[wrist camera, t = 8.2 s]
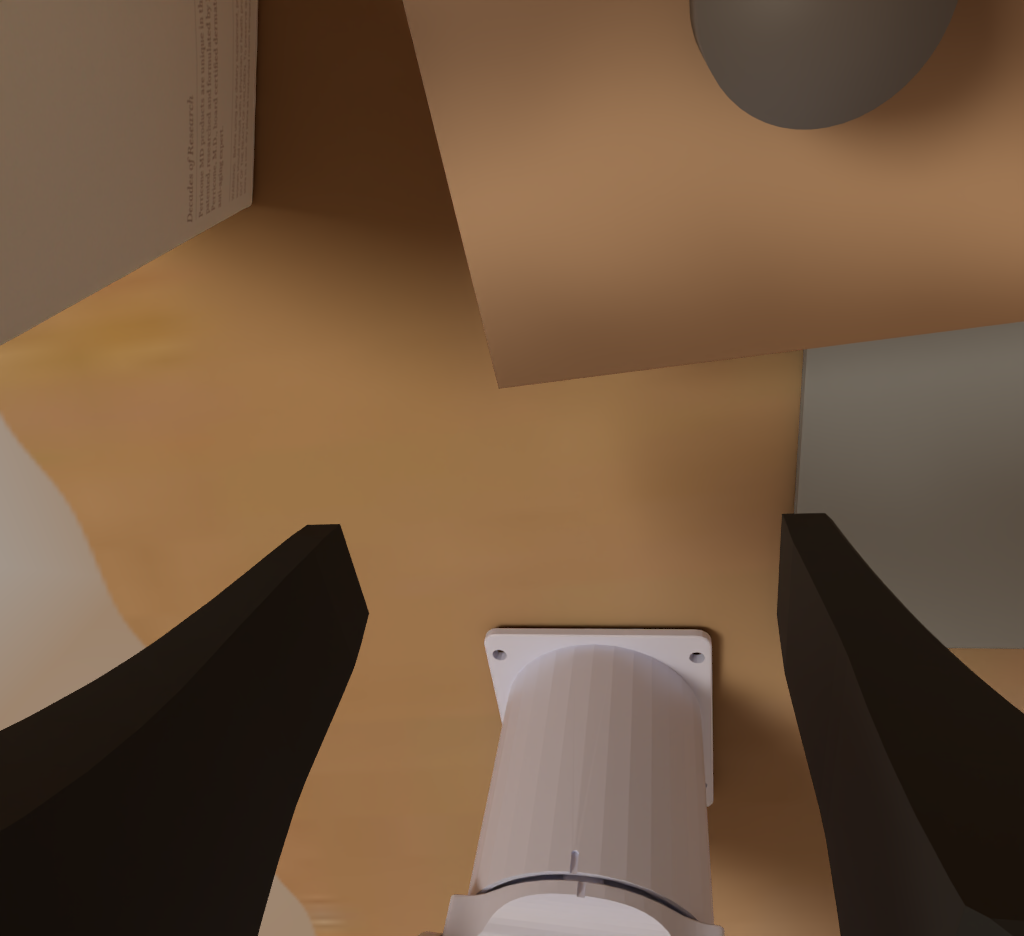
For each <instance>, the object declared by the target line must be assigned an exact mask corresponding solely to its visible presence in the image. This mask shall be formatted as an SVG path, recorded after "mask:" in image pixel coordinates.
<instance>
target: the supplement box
mask: <svg viewBox="0 0 1024 936" xmlns="http://www.w3.org/2000/svg"><path fill="white" fill-rule="evenodd" d="M257 28H258V0H0V345H2V344H4V343H6V342H8V341H9V340H11V339H13V338H15V337H17V336H19V335H21V334H22V333H24V332H26V331H28V330H29V329H31V328H33V327H35V326H36V325H38V324H40V323H42V322H43V321H45V320H47V319H49V318H51V317H52V316H54V315H56V314H58V313H59V312H61V311H63V310H65V309H67V308H68V307H70V306H72V305H74V304H76V303H77V302H79V301H81V300H83V299H85V298H86V297H88V296H90V295H92V294H94V293H95V292H97V291H99V290H101V289H103V288H104V287H106V286H108V285H110V284H111V283H113V282H115V281H117V280H119V279H121V278H122V277H124V276H126V275H128V274H129V273H131V272H133V271H135V270H136V269H138V268H140V267H141V266H143V265H145V264H147V263H149V262H150V261H152V260H154V259H156V258H157V257H159V256H161V255H163V254H164V253H166V252H168V251H170V250H172V249H173V248H175V247H177V246H179V245H180V244H182V243H184V242H186V241H188V240H189V239H191V238H193V237H195V236H197V235H198V234H200V233H202V232H204V231H206V230H208V229H209V228H211V227H213V226H214V225H216V224H218V223H220V222H222V221H223V220H225V219H227V218H229V217H231V216H232V215H234V214H236V213H238V212H239V211H241V210H243V209H245V208H247V207H250V205H251V204H252V194H253V168H254V131H255V105H256V63H257Z"/></svg>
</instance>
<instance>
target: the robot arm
mask: <svg viewBox="0 0 1024 936" xmlns="http://www.w3.org/2000/svg"><path fill="white" fill-rule="evenodd" d="M368 615H369V612H368V609H367V605H366V602H365V599H364V596H363V593H362V590H361V587H360V584H359V581H358V578H357V575H356V572H355V569H354V566H353V563H352V560H351V557H350V554H349V550H348V547H347V544H346V541H345V538H344V535H343V532H342V529H341V526H340V524H327V525H307V526H305V527H304V528H302V529H301V530H299V531H298V532H296V533H295V534H294V535H292V536H291V537H290V538H289V539H287V540H286V541H285V542H283V543H282V544H281V545H280V546H278V547H277V548H276V549H275V550H273V551H272V552H271V553H270V554H268V555H267V556H266V557H265V558H263V559H262V560H261V561H260V562H258V563H257V564H256V565H255V566H254V567H252V568H251V569H250V570H249V571H247V572H246V573H245V574H244V575H242V576H241V577H240V578H239V579H237V580H236V581H235V582H234V583H232V584H231V585H230V586H229V587H227V588H226V589H225V590H224V591H222V592H221V593H220V594H219V595H217V596H216V597H215V598H213V599H212V600H211V601H210V602H208V603H207V604H206V605H204V606H203V607H201V608H200V609H199V610H197V611H196V612H195V613H193V614H192V615H191V616H189V617H188V618H187V619H185V620H184V621H183V622H181V623H180V624H179V625H177V626H176V627H175V628H173V629H172V630H170V631H169V632H168V633H166V634H165V635H164V636H162V637H161V638H160V639H158V640H157V641H155V642H154V643H152V644H151V645H149V646H148V647H146V648H145V649H143V650H142V651H140V652H139V653H137V654H136V655H134V656H133V657H131V658H130V659H128V660H127V661H125V662H124V663H122V664H120V665H119V666H118V667H115V668H114V669H112V670H111V671H109V672H108V673H106V674H104V675H103V676H101V677H99V678H98V679H96V680H94V681H93V682H91V683H89V684H88V685H86V686H84V687H82V688H80V689H79V690H77V691H75V692H73V693H71V694H69V695H68V696H66V697H64V698H62V699H60V700H59V701H57V702H55V703H53V704H51V705H49V706H48V707H46V708H44V709H42V710H40V711H39V712H37V713H35V714H33V715H31V716H29V717H27V718H25V719H24V720H22V721H20V722H17V723H16V724H13V725H11V726H9V727H7V728H5V729H3V730H1V731H0V936H258V933H259V929H260V925H261V921H262V917H263V914H264V911H265V907H266V903H267V900H268V896H269V893H270V889H271V886H272V882H273V879H274V875H275V872H276V868H277V865H278V861H279V858H280V855H281V852H282V849H283V845H284V842H285V839H286V836H287V833H288V830H289V826H290V823H291V820H292V817H293V814H294V810H295V807H296V805H297V802H298V799H299V797H300V794H301V792H302V789H303V786H304V784H305V781H306V779H307V777H308V774H309V772H310V770H311V767H312V765H313V763H314V760H315V758H316V756H317V753H318V751H319V749H320V746H321V744H322V742H323V740H324V737H325V735H326V733H327V730H328V728H329V726H330V723H331V721H332V719H333V716H334V714H335V712H336V710H337V707H338V705H339V702H340V700H341V698H342V695H343V693H344V691H345V688H346V686H347V683H348V681H349V679H350V676H351V674H352V671H353V669H354V666H355V663H356V660H357V656H358V653H359V649H360V646H361V643H362V639H363V635H364V631H365V627H366V623H367V619H368ZM777 618H778V626H779V634H780V642H781V650H782V657H783V664H784V671H785V676H786V680H787V684H788V688H789V692H790V696H791V700H792V704H793V708H794V712H795V716H796V720H797V724H798V727H799V731H800V735H801V739H802V743H803V747H804V751H805V754H806V758H807V762H808V766H809V770H810V774H811V778H812V781H813V785H814V789H815V793H816V797H817V801H818V805H819V809H820V813H821V818H822V823H823V827H824V832H825V837H826V842H827V848H828V855H829V861H830V868H831V874H832V880H833V887H834V893H835V900H836V906H837V913H838V920H839V926H840V933H841V936H1024V713H1022V712H1021V711H1020V710H1018V709H1017V708H1016V707H1014V706H1013V705H1012V704H1011V703H1009V702H1008V701H1007V700H1006V699H1005V698H1003V697H1002V696H1001V695H1000V694H998V693H997V692H996V691H995V690H994V689H992V688H991V687H990V686H989V685H988V684H986V683H985V682H984V681H983V680H982V679H981V678H979V677H978V676H977V675H976V674H975V673H974V672H973V671H971V670H970V669H969V668H968V667H967V666H966V665H965V664H964V663H962V662H961V661H960V660H959V659H958V658H957V657H956V656H955V655H954V654H953V653H952V652H950V651H949V650H948V649H947V648H946V647H945V646H944V645H943V644H942V643H941V642H940V641H939V640H938V639H937V638H936V637H935V636H934V635H933V634H932V633H931V632H930V631H929V630H928V629H927V628H926V627H925V626H924V625H923V624H922V623H921V622H920V621H919V620H918V619H917V618H916V617H915V616H914V615H913V614H912V613H911V612H910V611H909V610H908V609H907V608H906V607H905V606H904V604H903V603H902V602H901V601H900V600H899V599H898V598H897V597H896V596H895V595H894V594H893V593H892V591H891V590H890V589H889V588H888V587H887V586H886V585H885V584H884V583H883V582H882V580H881V579H880V578H879V577H878V576H877V575H876V574H875V572H874V571H873V570H872V569H871V568H870V567H869V565H868V564H867V563H866V562H865V561H864V559H863V558H862V557H861V556H860V555H859V553H858V552H857V551H856V550H855V548H854V547H853V546H852V545H851V543H850V542H849V541H848V540H847V538H846V537H845V536H844V534H843V533H842V532H841V531H840V529H839V528H838V527H837V525H836V524H835V523H834V521H833V520H832V519H831V518H830V517H829V516H828V515H827V514H826V513H800V514H782V525H781V545H780V564H779V584H778V603H777ZM484 644H485V649H486V653H487V658H488V662H489V667H490V671H491V676H492V680H493V685H494V689H495V694H496V698H497V703H498V707H499V712H500V716H501V721H502V730H501V735H500V739H499V744H498V749H497V754H496V759H495V764H494V769H493V774H492V779H491V784H490V789H489V793H488V798H487V803H486V808H485V813H484V818H483V823H482V828H481V833H480V838H479V843H478V847H477V852H476V857H475V862H474V867H473V872H472V877H471V882H470V887H469V892H468V895H458V894H454V895H452V896H451V900H450V904H449V909H448V913H447V918H446V922H445V927H444V931H443V933H436V932H428V931H426V932H423V933H421V934H419V935H418V936H725V935H724V928H723V927H721V926H719V925H714V917H713V900H712V884H711V867H710V851H709V834H708V818H707V807H708V806H710V805H711V804H712V803H713V710H712V642H711V637H710V635H709V634H708V633H707V632H705V631H702V630H697V629H551V628H495V629H491V630H489V631H488V632H487V634H486V637H485V642H484ZM497 650H502V651H504V652H499V651H497ZM696 652H698V653H702V654H699V655H695V654H692V653H696Z"/></svg>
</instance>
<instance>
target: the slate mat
mask: <svg viewBox="0 0 1024 936" xmlns="http://www.w3.org/2000/svg"><path fill="white" fill-rule="evenodd" d="M800 513H826V514H827V515H828V516H829V517H830V518H831V519H832V520H833V521H834V523H835V524H836V525H837V527H838V528H839V529H840V531H841V532H842V533H843V534H844V536H845V537H846V538H847V540H848V541H849V542H850V543H851V545H852V546H853V547H854V548H855V550H856V551H857V552H858V553H859V555H860V556H861V557H862V558H863V559H864V561H865V562H866V563H867V564H868V565H869V567H870V568H871V569H872V570H873V571H874V572H875V574H876V575H877V576H878V577H879V578H880V579H881V580H882V582H883V583H884V584H885V585H886V586H887V587H888V588H889V589H890V590H891V591H892V593H893V594H894V595H895V596H896V597H897V598H898V599H899V600H900V601H901V602H902V603H903V604H904V606H905V607H906V608H907V609H908V610H909V611H910V612H911V613H912V614H913V615H914V616H915V617H916V618H917V619H918V620H919V621H920V622H921V623H922V624H923V625H924V626H925V627H926V628H927V629H928V630H929V631H930V632H931V633H932V634H933V635H934V636H935V637H936V638H937V639H938V640H939V641H940V642H941V643H942V644H943V645H944V646H945V647H946V648H1005V649H1024V321H1023V322H1016V323H1008V324H1000V325H992V326H984V327H976V328H969V329H961V330H953V331H945V332H937V333H930V334H922V335H914V336H906V337H898V338H890V339H883V340H875V341H867V342H859V343H851V344H844V345H836V346H828V347H820V348H812V349H804V352H803V369H802V386H801V402H800V419H799V436H798V453H797V470H796V487H795V503H794V514H800Z"/></svg>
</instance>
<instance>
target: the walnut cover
mask: <svg viewBox="0 0 1024 936" xmlns="http://www.w3.org/2000/svg"><path fill="white" fill-rule="evenodd" d="M402 1H403V5H404V9H405V13H406V17H407V21H408V25H409V29H410V33H411V37H412V41H413V45H414V49H415V53H416V57H417V61H418V65H419V69H420V73H421V77H422V81H423V85H424V89H425V93H426V97H427V101H428V105H429V109H430V113H431V117H432V121H433V125H434V129H435V134H436V138H437V142H438V146H439V150H440V154H441V158H442V162H443V166H444V170H445V174H446V178H447V182H448V186H449V190H450V194H451V198H452V202H453V206H454V210H455V214H456V218H457V222H458V226H459V230H460V234H461V238H462V242H463V246H464V250H465V254H466V258H467V262H468V266H469V271H470V275H471V279H472V283H473V287H474V291H475V295H476V299H477V303H478V307H479V311H480V315H481V319H482V323H483V327H484V331H485V335H486V339H487V343H488V347H489V351H490V355H491V359H492V363H493V367H494V371H495V375H496V379H497V383H498V387H499V389H500V388H507V387H515V386H523V385H531V384H539V383H546V382H554V381H562V380H570V379H578V378H586V377H593V376H601V375H609V374H617V373H625V372H632V371H640V370H648V369H656V368H664V367H672V366H679V365H687V364H695V363H703V362H711V361H718V360H726V359H734V358H742V357H750V356H758V355H765V354H773V353H781V352H789V351H797V350H804V349H812V348H820V347H828V346H836V345H844V344H851V343H859V342H867V341H875V340H883V339H890V338H898V337H906V336H914V335H922V334H930V333H937V332H945V331H953V330H961V329H969V328H976V327H984V326H992V325H1000V324H1008V323H1016V322H1023V321H1024V0H402Z"/></svg>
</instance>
